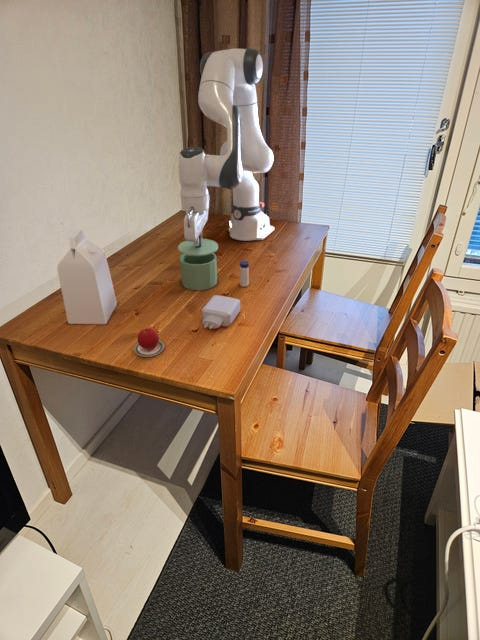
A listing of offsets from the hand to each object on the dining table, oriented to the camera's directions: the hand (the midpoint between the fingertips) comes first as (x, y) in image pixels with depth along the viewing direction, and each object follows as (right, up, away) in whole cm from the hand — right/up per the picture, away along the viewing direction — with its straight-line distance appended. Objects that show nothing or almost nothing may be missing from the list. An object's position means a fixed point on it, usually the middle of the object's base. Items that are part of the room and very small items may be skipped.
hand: (197, 243), depth 139 cm
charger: (+7, -27, -14) cm, 31 cm away
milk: (-32, -24, -10) cm, 41 cm away
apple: (-11, -34, -26) cm, 44 cm away
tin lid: (0, -1, +1) cm, 2 cm away
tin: (0, -12, +8) cm, 15 cm away
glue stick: (+16, -13, +6) cm, 22 cm away
